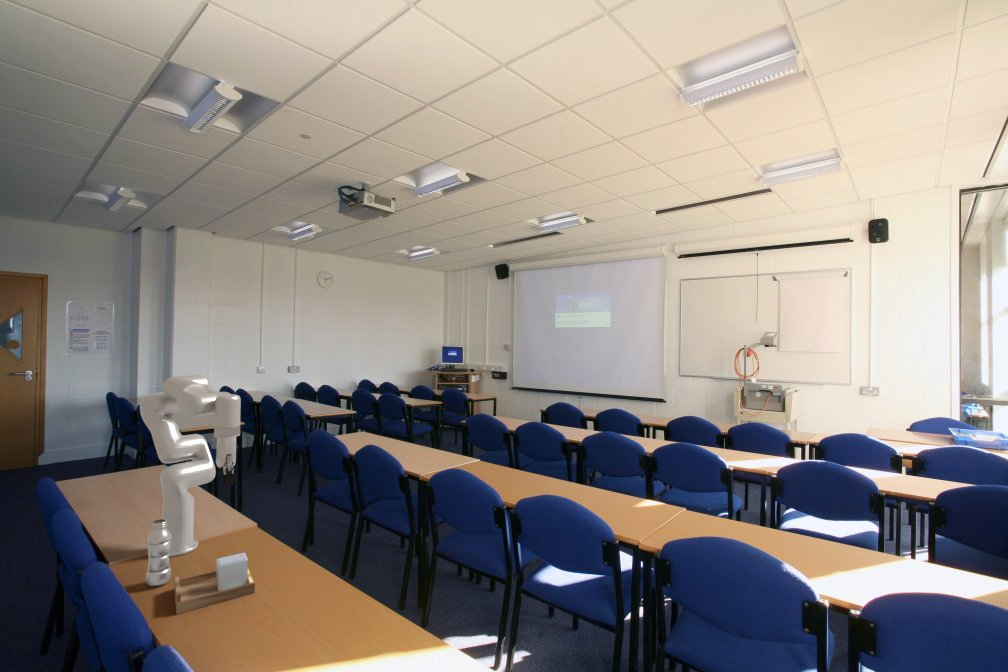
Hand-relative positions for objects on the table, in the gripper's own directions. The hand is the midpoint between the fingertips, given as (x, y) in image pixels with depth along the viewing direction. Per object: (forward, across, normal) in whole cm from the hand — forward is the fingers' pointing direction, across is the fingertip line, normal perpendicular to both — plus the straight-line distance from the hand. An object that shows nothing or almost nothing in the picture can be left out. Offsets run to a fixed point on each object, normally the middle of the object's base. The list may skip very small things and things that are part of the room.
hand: (226, 482), depth 159 cm
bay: (+30, +12, -4) cm, 33 cm away
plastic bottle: (+31, -3, -18) cm, 36 cm away
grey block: (+29, +12, +1) cm, 31 cm away
